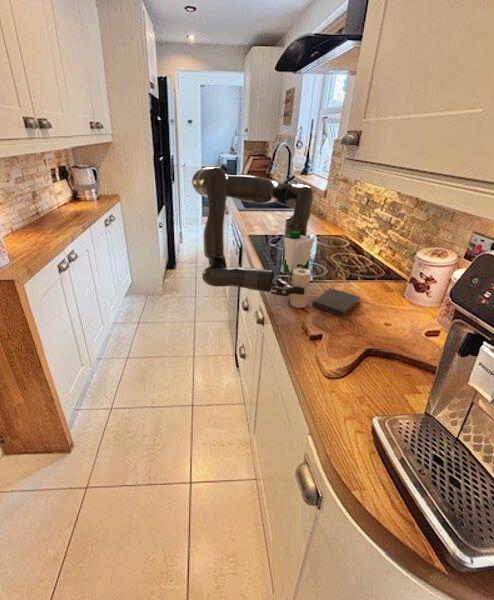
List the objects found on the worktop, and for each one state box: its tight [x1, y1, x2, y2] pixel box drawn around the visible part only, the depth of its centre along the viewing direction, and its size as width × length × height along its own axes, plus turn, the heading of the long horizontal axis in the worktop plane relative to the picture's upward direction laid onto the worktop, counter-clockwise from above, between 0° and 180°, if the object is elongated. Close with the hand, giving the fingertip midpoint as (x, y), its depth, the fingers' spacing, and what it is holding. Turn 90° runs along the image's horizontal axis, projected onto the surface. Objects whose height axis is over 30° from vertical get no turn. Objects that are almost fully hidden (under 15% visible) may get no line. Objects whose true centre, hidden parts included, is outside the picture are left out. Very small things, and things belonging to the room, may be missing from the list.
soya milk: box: [282, 230, 315, 286], centre depth 122 cm, size 9×9×20 cm
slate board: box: [311, 287, 361, 318], centre depth 111 cm, size 13×11×2 cm
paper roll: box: [289, 268, 312, 309], centre depth 109 cm, size 6×6×12 cm
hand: (306, 286), depth 108 cm, fingers open, 8 cm apart
